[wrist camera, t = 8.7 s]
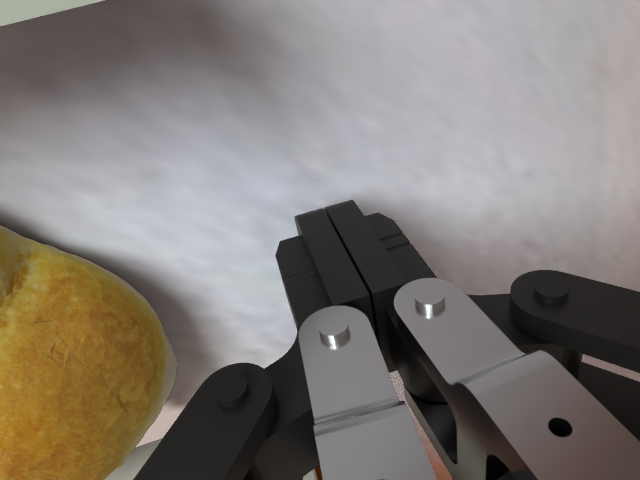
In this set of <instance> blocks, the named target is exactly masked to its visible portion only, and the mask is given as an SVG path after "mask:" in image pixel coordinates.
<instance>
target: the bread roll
mask: <svg viewBox="0 0 640 480" xmlns="http://www.w3.org/2000/svg"><path fill="white" fill-rule="evenodd" d="M176 369H177V360H176V356H175V353H174V350H173V348H172V346H171V344H170V342H169V341H168V339H167V337H166V335H165V332H164V329H163V327H162V324H161V321H160V320H159V318H158V316H157V314H156V313H155V311H154V309H153V308H152V307H151V305H150V304H149V303H148V301H147V300H146V299H145V298H144V297H143V296H142V295H141V294H140V293H139V292H138V291H136V290H135V289H134V288H133V287H132V286H131V285H130V284H129V283H127V282H126V281H124V280H123V279H121V278H120V277H118V276H117V275H115V274H114V273H112V272H110V271H108V270H106V269H104V268H102V267H100V266H98V265H96V264H95V263H93V262H91V261H89V260H86V259H84V258H81V257H79V256H77V255H73V254H70V253H67V252H64V251H61V250H59V249H57V248H55V247H52V246H50V245H45V244H41V243H39V242H36V241H34V240H31V239H28V238H25V237H23V236H21V235H19V234H17V233H15V232H14V231H12V230H10V229H8V228H6V227H4V226H2V225H0V480H105V479H106V478H107V477H108V476H109V475H110V474H111V473H112V472H113V471H114V470H115V469H116V468H118V467H120V466H122V465H124V462H125V459H126V457H127V456H128V455H129V454H130V453H132V451H133V450H134V448H135V447H136V445H137V444H138V443H139V442H140V440H141V439H142V438H143V436H144V434H145V432H146V431H147V430H148V429H149V427H150V426H151V425H152V424H153V423H154V421H155V420H156V418H157V417H158V415H159V414H160V412H161V410H162V407H163V405H164V404H165V402H166V400H167V397H168V396H169V394H170V392H171V390H172V388H173V385H174V382H175V378H176Z"/></svg>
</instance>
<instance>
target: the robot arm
mask: <svg viewBox="0 0 640 480" xmlns="http://www.w3.org/2000/svg"><path fill="white" fill-rule="evenodd" d="M295 222H296V227H297V231H298V235H299V236H296V237H293V238H289V239H286V240H282V241H280V243H279V246H278V249H277V252H276V259H277V262H278V266H279V270H280V273H281V277H282V280H283V284H284V287H285V291H286V294H287V298H288V301H289V305H290V308H291V311H292V314H293V318H294V321H295V324H296V327H297V337H296V340H295V342H294V344H293V345H292V347H291V348H290V350H289V351H288V352H287V353H286V354H285V355H284V356H283V357H282V358H280V359H279V360H277V361H276V362H274V363H273V364H271V365H269V366H268V367H266V368H265V369H263V368H262V367H260V366H258V365H255V364H251V363H236V364H232V365H228V366H226V367H223V368H221V369H219V370H217V371H216V372H214V373H213V374H212V375H210V376H209V377H208V378H207V379H206V380H205V381H204V382H203V383H202V385H201V386H200V387H199V389H198V390H197V392H196V393H195V394H194V396H193V397H192V399H191V400H190V401H189V403H188V404H187V405H186V407H185V408H184V410H183V411H182V412H181V414H180V415H179V417H178V418H177V420H176V421H175V422H174V424H173V425H172V426H171V428H170V429H169V431H168V432H167V433H166V435H165V436H164V437H163V439H162V440H161V442H160V443H159V444H158V446H157V447H156V449H155V450H154V451H153V453H152V454H151V455H150V457H149V458H148V460H147V461H146V462H145V464H144V465H143V467H142V468H141V469H140V471H139V472H138V474H137V475H136V476H135V478H134V479H133V480H303V477H304V476H305V475H306V474H308V473H309V472H310V471H312V470H313V469H314V468H316V467H317V466H318V465H320V467H321V472H322V477H323V480H436V477H435V474H434V472H433V469H432V467H431V464H430V462H429V459H428V457H427V454H426V451H425V449H424V446H423V444H422V441H421V439H420V436H419V434H418V431H417V428H416V426H415V423H414V421H413V418H412V416H411V413H410V411H409V409H408V407H407V405H406V403H405V402H404V401H400V400H399V398H398V395H397V393H396V390H395V388H394V385H393V382H392V380H391V377H390V374H389V372H393V371H396V370H397V371H398V373H399V374H400V376H401V378H402V380H403V386H404V394H405V398H406V401H407V403H408V405H409V406H410V408H411V410H412V411H413V413H414V415H415V416H416V418H417V420H418V421H419V423H420V425H421V426H422V428H423V430H424V431H425V433H426V435H427V436H428V438H429V440H430V441H431V443H432V445H433V446H434V448H435V450H436V451H437V453H438V455H439V456H440V458H441V459H442V461H443V463H444V464H445V466H446V468H447V469H448V471H449V473H450V475H451V477H452V479H453V480H640V382H638V381H635V380H632V379H630V378H627V377H624V376H621V375H618V374H615V373H612V372H610V371H607V370H604V369H601V368H598V367H595V366H592V365H590V364H587V363H584V362H581V360H582V354H585V355H588V356H591V357H594V358H597V359H600V360H603V361H606V362H609V363H612V364H615V365H618V366H621V367H624V368H627V369H630V370H633V371H635V372H638V373H640V292H637V291H633V290H630V289H626V288H622V287H618V286H614V285H610V284H606V283H602V282H598V281H595V280H591V279H587V278H583V277H579V276H575V275H571V274H567V273H563V272H559V271H553V270H537V271H532V272H528V273H525V274H523V275H521V276H519V277H518V278H517V279H516V280H515V281H514V282H513V284H512V286H511V292H510V294H498V295H468V294H466V293H465V292H464V291H463V290H462V289H461V288H460V287H458V286H457V285H455V284H454V283H452V282H450V281H447V280H444V279H439V278H437V277H436V276H435V275H434V273H433V272H432V271H431V269H430V268H429V267H428V265H427V264H426V263H425V261H424V260H423V259H422V257H421V256H420V255H419V253H418V252H417V251H416V249H415V248H414V247H413V245H412V244H410V242H409V240H408V239H407V238H406V236H405V235H403V233H402V231H401V230H400V228H399V227H398V226H397V224H396V223H395V222H394V221H393V220H392V219H390V218H388V217H386V216H384V215H382V214H380V213H375V214H372V215H368V216H365V217H364V215H363V214H362V212H361V211H360V209H359V208H358V206H357V205H356V203H355V202H354V201H353V200H349V201H346V202H342V203H339V204H335V205H332V206H328V207H325V208H324V209H323V208H322V209H318V210H315V211H311V212H307V213H304V214H300V215H297V216H295Z"/></svg>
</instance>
